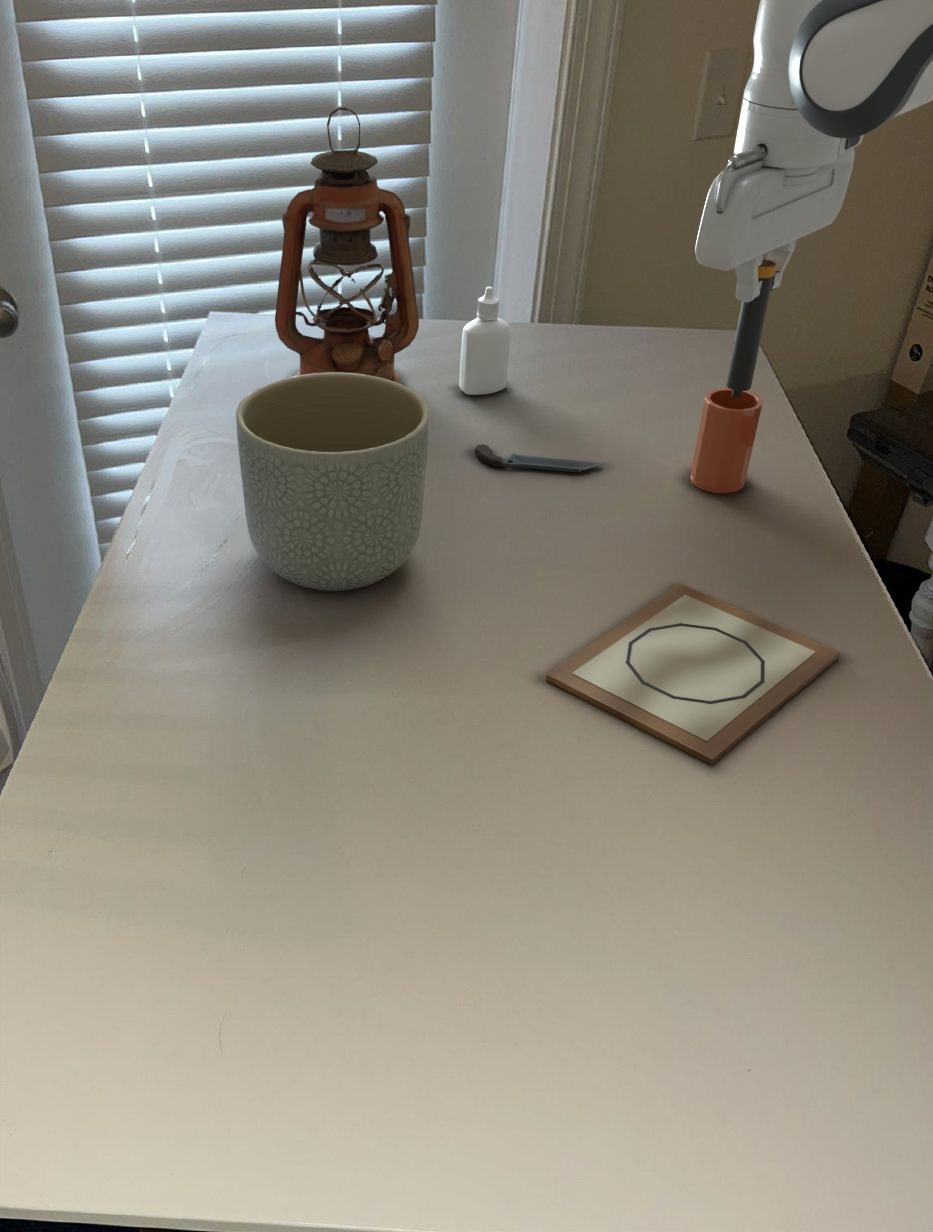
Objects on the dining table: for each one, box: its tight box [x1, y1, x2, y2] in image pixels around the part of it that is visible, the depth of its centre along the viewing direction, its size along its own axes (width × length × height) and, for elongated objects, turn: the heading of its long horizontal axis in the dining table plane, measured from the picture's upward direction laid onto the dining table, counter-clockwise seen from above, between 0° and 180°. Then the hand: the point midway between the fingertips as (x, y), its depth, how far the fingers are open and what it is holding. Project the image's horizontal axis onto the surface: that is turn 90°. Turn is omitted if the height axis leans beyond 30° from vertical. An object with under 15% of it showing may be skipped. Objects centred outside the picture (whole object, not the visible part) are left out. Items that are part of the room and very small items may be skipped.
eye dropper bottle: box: [458, 286, 511, 396], centre depth 145 cm, size 4×6×12 cm
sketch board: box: [545, 583, 841, 765], centre depth 105 cm, size 16×20×1 cm
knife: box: [474, 444, 605, 473], centre depth 134 cm, size 14×4×1 cm, turn 78°
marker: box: [726, 258, 776, 398], centre depth 121 cm, size 2×2×13 cm
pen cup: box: [689, 387, 764, 494], centre depth 128 cm, size 6×6×9 cm
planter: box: [235, 373, 430, 592], centre depth 114 cm, size 17×17×15 cm
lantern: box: [274, 106, 420, 384], centre depth 141 cm, size 17×13×30 cm
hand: (757, 294), depth 119 cm, fingers closed on marker, 2 cm apart
